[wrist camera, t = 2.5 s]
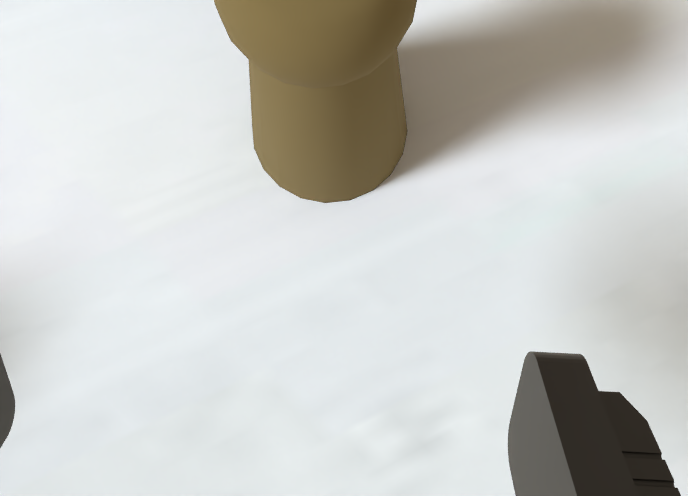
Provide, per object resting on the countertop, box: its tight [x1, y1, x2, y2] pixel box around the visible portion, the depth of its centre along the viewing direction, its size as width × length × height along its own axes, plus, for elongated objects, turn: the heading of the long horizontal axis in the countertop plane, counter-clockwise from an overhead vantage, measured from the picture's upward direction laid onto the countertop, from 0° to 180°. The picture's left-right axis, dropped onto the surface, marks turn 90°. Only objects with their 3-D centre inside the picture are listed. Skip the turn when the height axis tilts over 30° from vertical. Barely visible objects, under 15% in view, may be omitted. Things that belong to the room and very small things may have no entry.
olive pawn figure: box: [214, 0, 417, 203], centre depth 20 cm, size 6×6×11 cm
